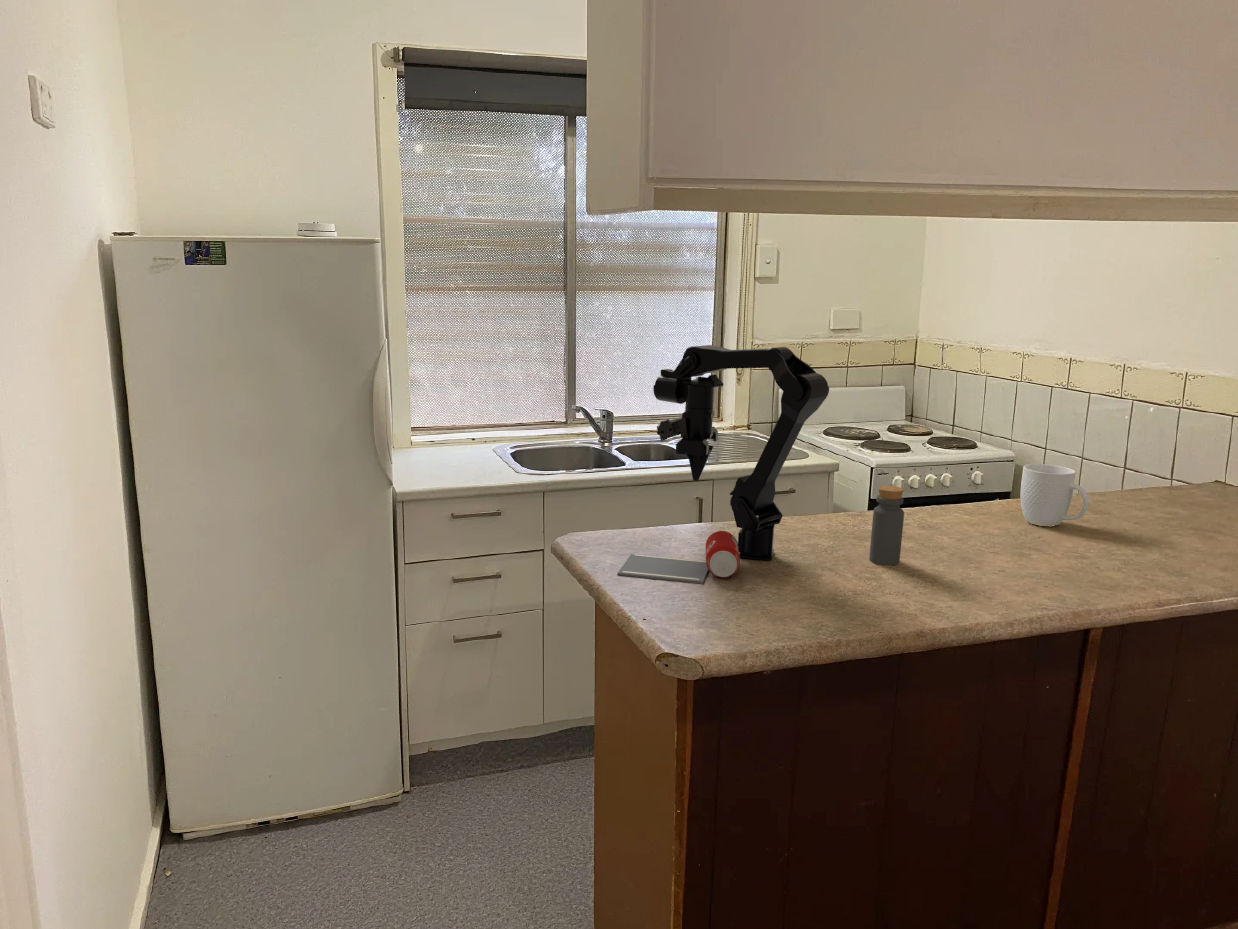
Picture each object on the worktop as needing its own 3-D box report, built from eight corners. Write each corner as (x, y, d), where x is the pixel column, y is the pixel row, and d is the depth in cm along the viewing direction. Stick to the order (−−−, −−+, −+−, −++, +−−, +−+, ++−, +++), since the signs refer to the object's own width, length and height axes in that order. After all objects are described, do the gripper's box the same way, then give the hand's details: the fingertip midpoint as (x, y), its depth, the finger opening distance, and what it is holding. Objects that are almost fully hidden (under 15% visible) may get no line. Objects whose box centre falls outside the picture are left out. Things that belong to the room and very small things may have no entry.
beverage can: (702, 532, 184) (703, 551, 172) (734, 526, 183) (737, 545, 171) (708, 562, 185) (709, 583, 173) (740, 557, 184) (743, 577, 173)
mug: (1093, 528, 215) (1101, 472, 212) (1074, 537, 207) (1082, 479, 204) (1028, 514, 225) (1034, 461, 222) (1008, 522, 217) (1015, 467, 215)
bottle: (901, 559, 188) (908, 487, 185) (896, 567, 183) (904, 493, 180) (871, 555, 190) (878, 483, 187) (866, 563, 185) (873, 489, 182)
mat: (711, 563, 182) (711, 561, 182) (702, 583, 171) (702, 581, 171) (631, 555, 186) (631, 553, 186) (617, 575, 174) (617, 572, 174)
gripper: (668, 398, 203) (665, 468, 207) (652, 411, 186) (649, 487, 189) (719, 401, 201) (716, 472, 204) (707, 414, 183) (704, 492, 187)
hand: (695, 480), depth 196 cm, fingers closed
